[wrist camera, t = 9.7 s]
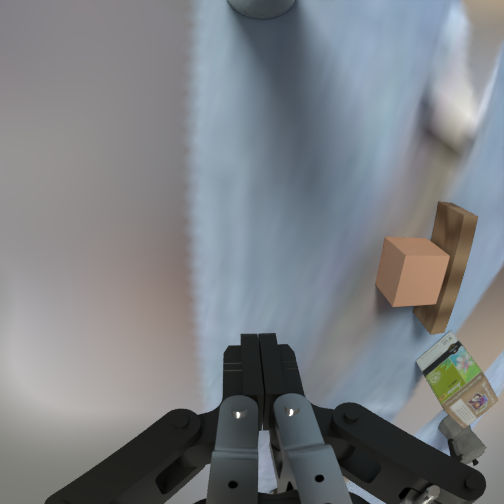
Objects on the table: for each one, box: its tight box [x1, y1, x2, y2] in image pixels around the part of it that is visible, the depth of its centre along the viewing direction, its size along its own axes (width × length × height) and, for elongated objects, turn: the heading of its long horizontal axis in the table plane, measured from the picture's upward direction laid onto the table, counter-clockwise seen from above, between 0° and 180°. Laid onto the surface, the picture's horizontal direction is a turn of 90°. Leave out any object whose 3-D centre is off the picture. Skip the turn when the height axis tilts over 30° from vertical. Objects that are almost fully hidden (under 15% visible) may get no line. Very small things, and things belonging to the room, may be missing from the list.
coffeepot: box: [439, 415, 486, 466], centre depth 61 cm, size 15×9×18 cm, turn 70°
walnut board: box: [413, 202, 478, 335], centre depth 45 cm, size 20×3×7 cm, turn 179°
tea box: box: [416, 331, 498, 429], centre depth 51 cm, size 15×10×15 cm
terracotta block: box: [376, 237, 450, 307], centre depth 44 cm, size 8×8×7 cm
